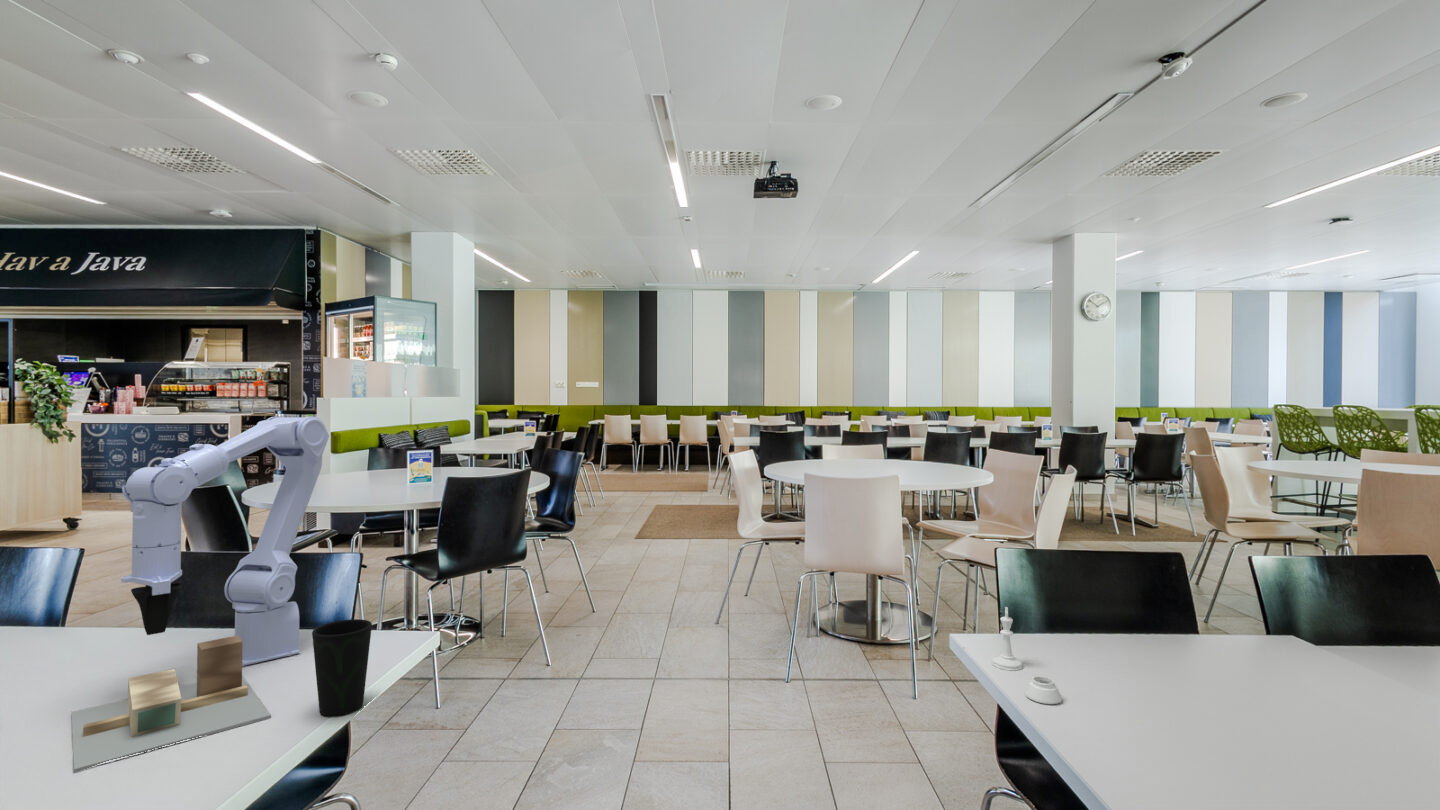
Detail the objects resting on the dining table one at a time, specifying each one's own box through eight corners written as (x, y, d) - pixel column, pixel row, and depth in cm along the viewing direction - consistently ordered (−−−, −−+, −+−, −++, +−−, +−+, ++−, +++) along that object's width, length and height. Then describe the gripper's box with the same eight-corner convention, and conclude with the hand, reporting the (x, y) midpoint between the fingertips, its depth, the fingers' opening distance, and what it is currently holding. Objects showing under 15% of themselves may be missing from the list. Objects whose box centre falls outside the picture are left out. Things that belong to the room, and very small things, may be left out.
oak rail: (246, 693, 100) (246, 685, 100) (247, 695, 99) (247, 687, 99) (83, 733, 87) (83, 724, 87) (83, 736, 86) (83, 727, 86)
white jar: (1018, 693, 101) (1039, 707, 96) (1018, 674, 101) (1038, 687, 96) (1047, 691, 102) (1069, 705, 97) (1047, 672, 102) (1069, 685, 97)
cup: (382, 701, 98) (383, 622, 98) (338, 724, 91) (339, 638, 91) (344, 694, 100) (345, 617, 101) (298, 715, 93) (299, 632, 93)
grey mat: (240, 675, 108) (240, 672, 108) (270, 717, 92) (270, 714, 92) (71, 714, 93) (71, 711, 93) (73, 772, 78) (73, 769, 78)
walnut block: (236, 685, 102) (237, 635, 103) (241, 693, 100) (242, 641, 100) (196, 695, 99) (197, 643, 99) (200, 703, 96) (201, 649, 96)
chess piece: (991, 668, 111) (991, 609, 111) (991, 658, 115) (990, 602, 116) (1023, 672, 109) (1022, 613, 109) (1021, 662, 113) (1021, 605, 114)
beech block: (174, 668, 95) (181, 699, 89) (173, 693, 95) (180, 724, 90) (128, 678, 91) (132, 710, 85) (127, 703, 92) (131, 737, 86)
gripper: (118, 541, 102) (117, 628, 102) (125, 555, 92) (123, 651, 92) (176, 535, 107) (175, 618, 107) (188, 548, 97) (187, 639, 97)
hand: (155, 632), depth 99 cm, fingers closed
